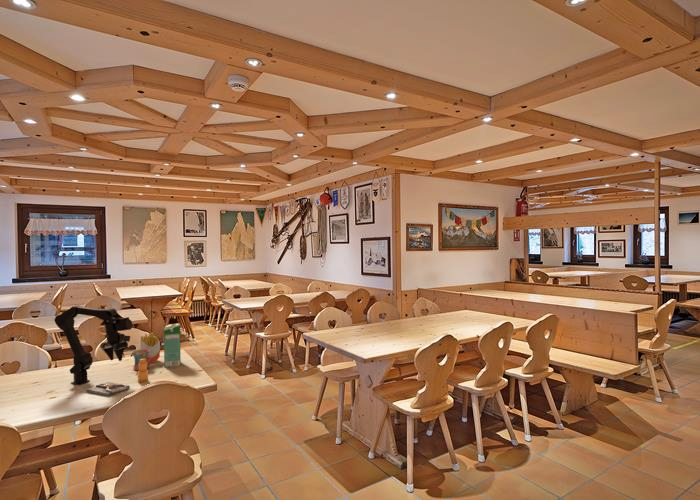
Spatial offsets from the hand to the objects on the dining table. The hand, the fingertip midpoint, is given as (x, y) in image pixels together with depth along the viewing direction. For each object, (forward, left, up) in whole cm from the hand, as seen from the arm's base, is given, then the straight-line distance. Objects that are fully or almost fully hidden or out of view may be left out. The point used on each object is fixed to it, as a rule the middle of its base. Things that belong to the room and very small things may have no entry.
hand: (116, 360), depth 223 cm
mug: (-7, +23, -12) cm, 27 cm away
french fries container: (-14, +35, -12) cm, 40 cm away
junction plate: (+7, -10, -12) cm, 17 cm away
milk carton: (+3, +36, -12) cm, 38 cm away
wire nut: (+11, +7, -12) cm, 18 cm away
